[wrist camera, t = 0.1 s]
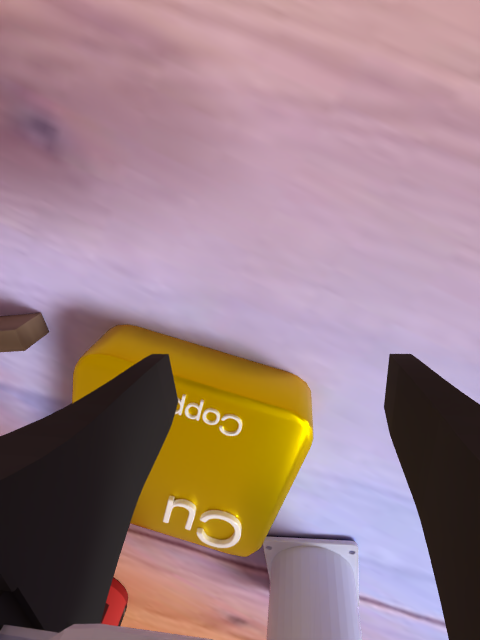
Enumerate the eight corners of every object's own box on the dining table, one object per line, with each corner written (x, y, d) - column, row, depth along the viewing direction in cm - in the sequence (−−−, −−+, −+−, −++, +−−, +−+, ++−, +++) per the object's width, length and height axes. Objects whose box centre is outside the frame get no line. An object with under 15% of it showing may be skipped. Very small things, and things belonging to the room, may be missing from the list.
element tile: (320, 378, 24) (325, 428, 20) (259, 512, 31) (253, 571, 26) (107, 313, 24) (66, 349, 20) (94, 461, 31) (62, 511, 27)
